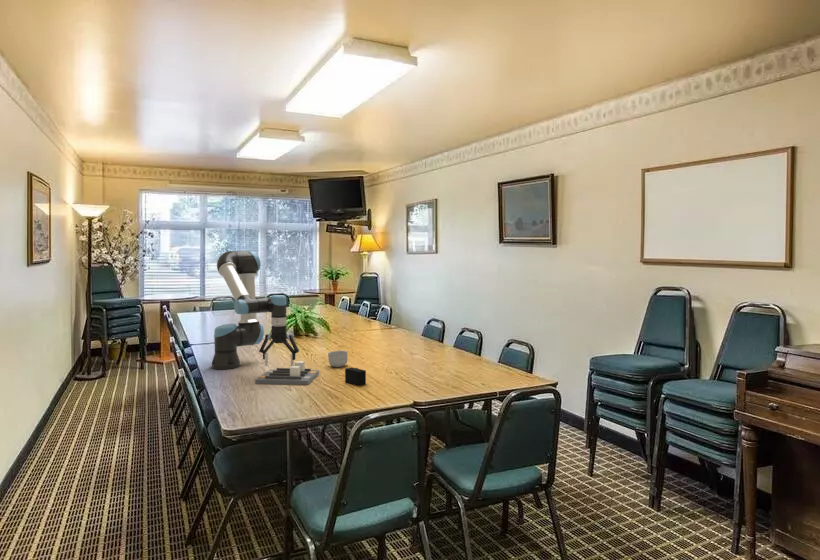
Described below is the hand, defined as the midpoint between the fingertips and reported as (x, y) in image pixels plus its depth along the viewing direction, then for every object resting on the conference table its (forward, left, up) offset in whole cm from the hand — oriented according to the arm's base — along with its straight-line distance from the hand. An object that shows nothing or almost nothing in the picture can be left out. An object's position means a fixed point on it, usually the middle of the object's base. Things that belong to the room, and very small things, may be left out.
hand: (279, 366), depth 262 cm
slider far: (+11, 0, -3) cm, 11 cm away
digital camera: (+43, -12, -5) cm, 44 cm away
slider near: (+12, -11, -3) cm, 16 cm away
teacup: (+26, +26, -5) cm, 37 cm away
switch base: (+7, -6, -5) cm, 10 cm away
